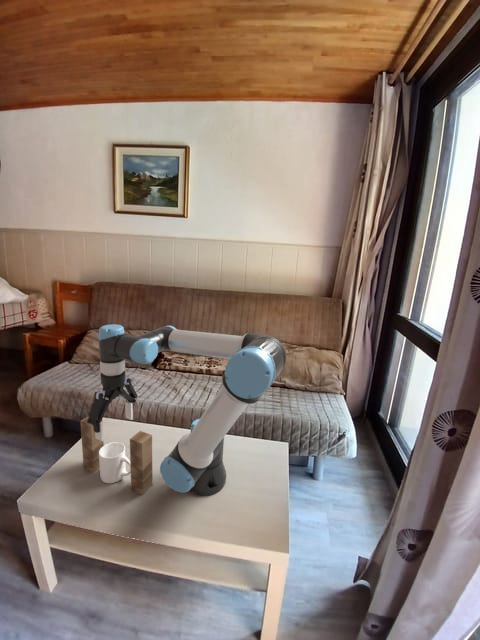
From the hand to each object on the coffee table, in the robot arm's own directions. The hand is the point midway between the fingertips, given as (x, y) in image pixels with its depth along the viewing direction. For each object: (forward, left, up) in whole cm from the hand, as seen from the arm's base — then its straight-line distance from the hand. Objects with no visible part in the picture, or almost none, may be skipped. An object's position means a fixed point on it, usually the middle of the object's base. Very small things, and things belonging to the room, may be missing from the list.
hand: (115, 428), depth 106 cm
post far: (+11, 0, -20) cm, 23 cm away
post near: (-11, 0, -20) cm, 23 cm away
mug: (0, 0, -20) cm, 20 cm away
